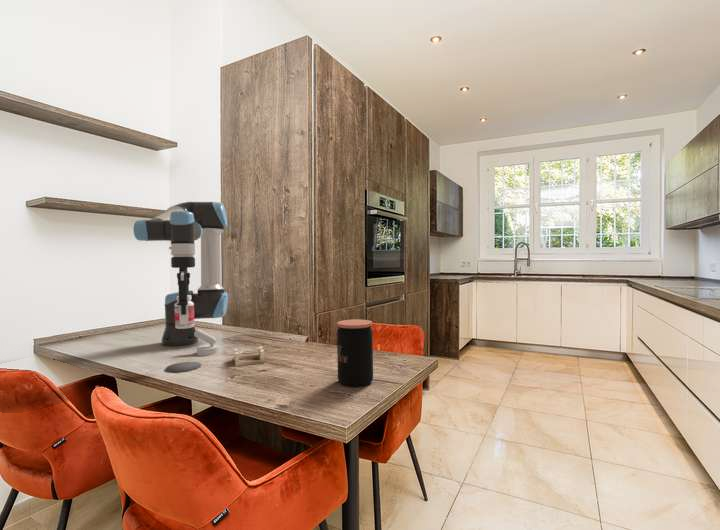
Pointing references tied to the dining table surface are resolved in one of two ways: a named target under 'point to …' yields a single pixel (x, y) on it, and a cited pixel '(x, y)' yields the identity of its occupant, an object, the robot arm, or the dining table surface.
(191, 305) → the pill bottle
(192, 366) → the coaster
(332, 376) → the dining table surface
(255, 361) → the cradle
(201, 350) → the wall hook
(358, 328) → the coffee jar
